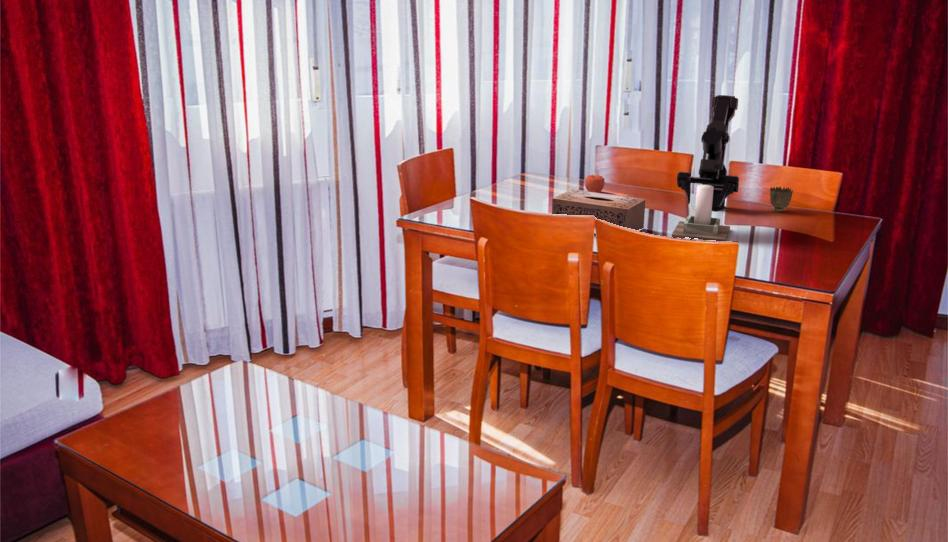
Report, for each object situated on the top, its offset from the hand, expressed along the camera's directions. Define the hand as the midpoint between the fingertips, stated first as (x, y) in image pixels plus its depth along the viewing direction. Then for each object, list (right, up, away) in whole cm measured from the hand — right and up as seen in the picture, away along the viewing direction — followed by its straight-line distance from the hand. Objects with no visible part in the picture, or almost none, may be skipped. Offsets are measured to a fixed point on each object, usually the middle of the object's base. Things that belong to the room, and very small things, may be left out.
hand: (703, 204), depth 262 cm
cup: (+34, 0, +29) cm, 45 cm away
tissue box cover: (-32, -7, +9) cm, 34 cm away
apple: (-27, +8, +53) cm, 60 cm away
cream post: (0, -8, +3) cm, 8 cm away
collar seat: (0, -9, +3) cm, 9 cm away
